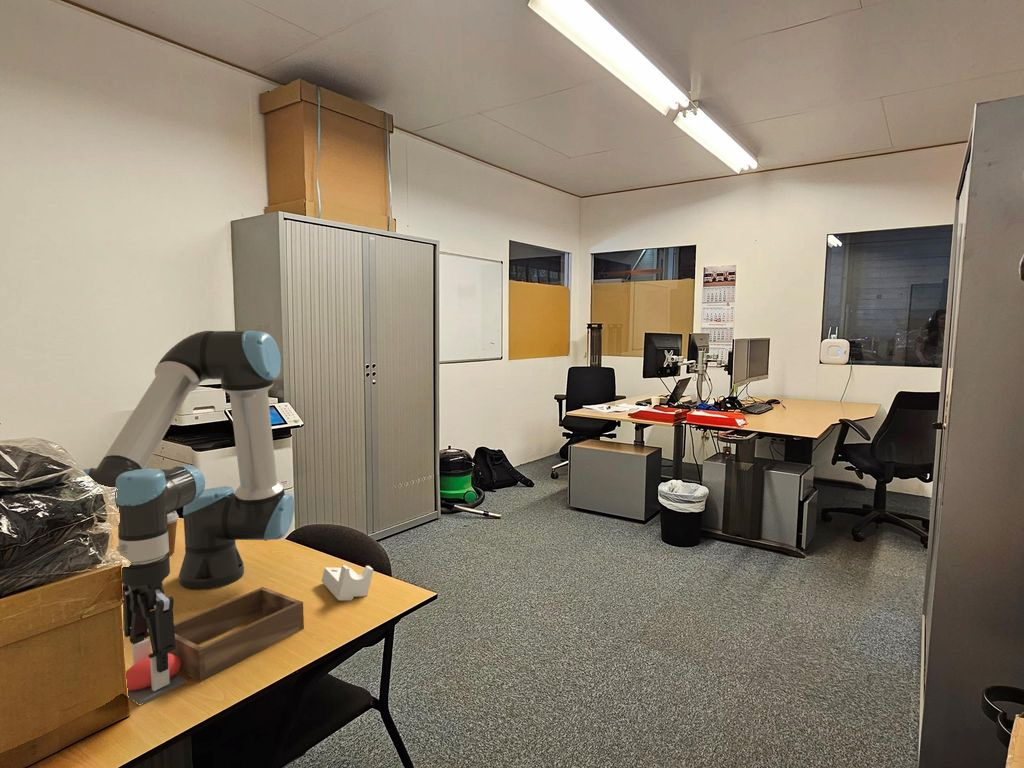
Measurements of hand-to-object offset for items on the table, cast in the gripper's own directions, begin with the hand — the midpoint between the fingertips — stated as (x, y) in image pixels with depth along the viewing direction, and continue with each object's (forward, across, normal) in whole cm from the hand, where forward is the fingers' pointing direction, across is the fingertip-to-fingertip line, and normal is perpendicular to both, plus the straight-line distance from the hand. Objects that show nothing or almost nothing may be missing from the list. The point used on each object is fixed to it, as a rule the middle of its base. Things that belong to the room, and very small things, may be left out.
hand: (151, 681), depth 107 cm
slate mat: (+1, 0, 0) cm, 1 cm away
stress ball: (+1, 0, 0) cm, 1 cm away
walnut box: (+1, -1, +17) cm, 17 cm away
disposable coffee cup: (+1, -63, +34) cm, 72 cm away
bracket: (+2, -1, +47) cm, 47 cm away
